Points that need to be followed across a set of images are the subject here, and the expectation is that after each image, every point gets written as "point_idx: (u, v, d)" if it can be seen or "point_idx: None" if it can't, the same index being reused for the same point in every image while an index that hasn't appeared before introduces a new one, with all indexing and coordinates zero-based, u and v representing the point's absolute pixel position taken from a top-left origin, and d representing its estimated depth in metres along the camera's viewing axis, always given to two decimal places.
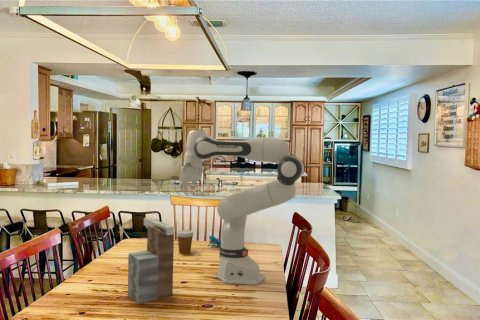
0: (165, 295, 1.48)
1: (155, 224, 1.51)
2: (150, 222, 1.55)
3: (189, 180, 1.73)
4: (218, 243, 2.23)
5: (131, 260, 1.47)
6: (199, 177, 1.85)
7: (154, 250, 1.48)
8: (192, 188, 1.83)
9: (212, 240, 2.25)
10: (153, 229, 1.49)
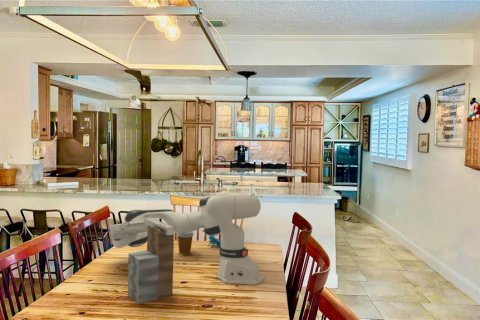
0: (165, 295, 1.48)
1: (155, 224, 1.51)
2: (150, 222, 1.55)
3: (145, 228, 1.76)
4: (218, 243, 2.23)
5: (131, 260, 1.47)
6: (118, 232, 1.69)
7: (154, 250, 1.48)
8: None
9: (212, 240, 2.25)
10: (153, 229, 1.49)
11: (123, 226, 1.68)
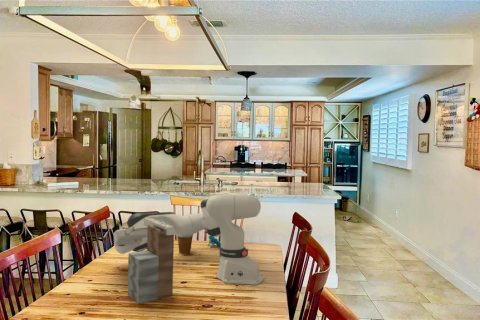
0: (165, 295, 1.48)
1: (155, 224, 1.51)
2: (150, 222, 1.55)
3: None
4: (217, 243, 2.23)
5: (131, 260, 1.47)
6: (122, 237, 1.62)
7: (154, 250, 1.48)
8: None
9: (212, 240, 2.25)
10: (153, 229, 1.49)
11: (128, 231, 1.61)
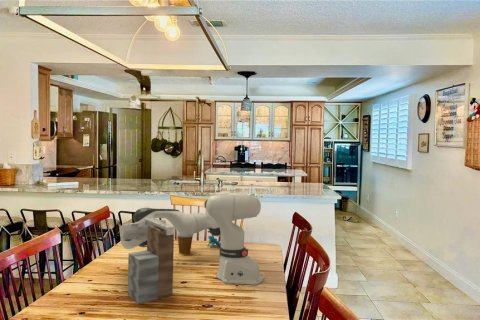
0: (165, 295, 1.48)
1: (155, 224, 1.51)
2: (150, 222, 1.55)
3: None
4: (217, 243, 2.23)
5: (131, 260, 1.47)
6: (129, 232, 1.58)
7: (154, 250, 1.48)
8: None
9: (211, 240, 2.25)
10: (153, 229, 1.49)
11: (140, 225, 1.58)
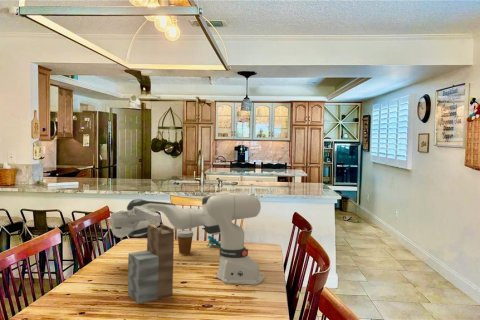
0: (165, 295, 1.48)
1: (143, 212, 1.57)
2: (139, 210, 1.61)
3: None
4: (216, 243, 2.22)
5: (131, 260, 1.47)
6: (119, 220, 1.64)
7: (154, 250, 1.48)
8: None
9: (211, 240, 2.25)
10: (153, 229, 1.49)
11: (130, 213, 1.64)
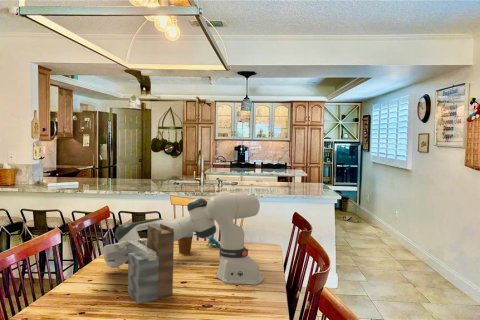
0: (165, 295, 1.48)
1: (138, 248, 1.47)
2: (133, 245, 1.51)
3: None
4: (216, 243, 2.22)
5: (131, 260, 1.47)
6: (112, 253, 1.54)
7: (154, 250, 1.48)
8: None
9: (210, 240, 2.25)
10: (153, 229, 1.49)
11: (121, 246, 1.54)
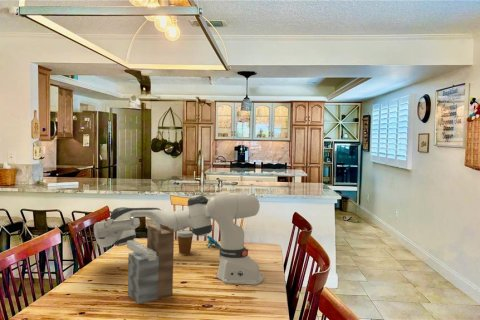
0: (165, 295, 1.48)
1: (138, 248, 1.47)
2: (133, 245, 1.51)
3: (131, 226, 1.70)
4: (215, 243, 2.22)
5: (131, 260, 1.47)
6: (102, 230, 1.62)
7: (154, 250, 1.48)
8: None
9: (210, 240, 2.25)
10: (153, 229, 1.49)
11: (107, 224, 1.61)
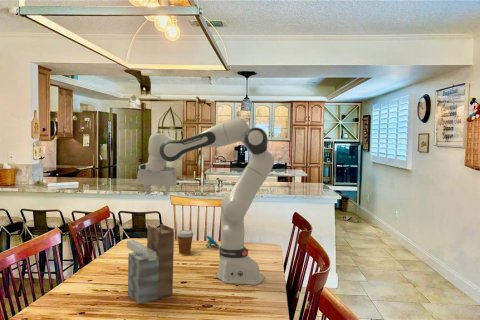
0: (165, 295, 1.48)
1: (138, 248, 1.47)
2: (133, 245, 1.51)
3: None
4: (214, 243, 2.22)
5: (131, 260, 1.47)
6: None
7: (154, 250, 1.48)
8: (149, 192, 1.80)
9: (210, 240, 2.25)
10: (153, 229, 1.49)
11: None
